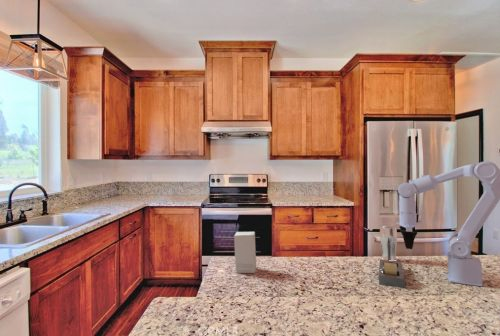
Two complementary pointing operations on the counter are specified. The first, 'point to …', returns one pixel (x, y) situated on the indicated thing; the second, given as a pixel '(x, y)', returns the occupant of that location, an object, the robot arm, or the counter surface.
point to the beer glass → (388, 242)
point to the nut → (390, 268)
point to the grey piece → (391, 279)
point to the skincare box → (245, 252)
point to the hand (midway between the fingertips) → (408, 246)
